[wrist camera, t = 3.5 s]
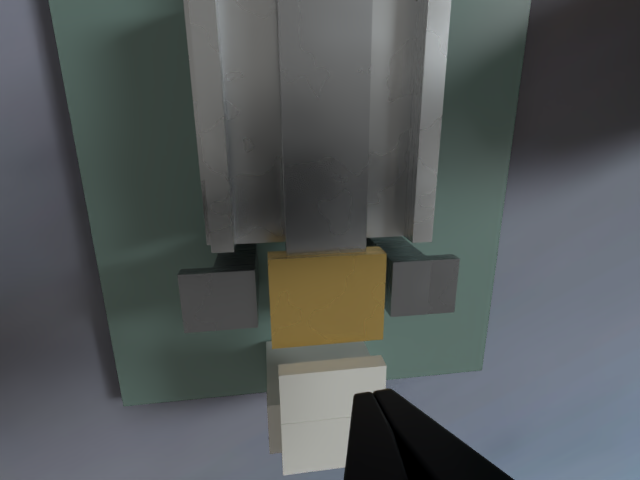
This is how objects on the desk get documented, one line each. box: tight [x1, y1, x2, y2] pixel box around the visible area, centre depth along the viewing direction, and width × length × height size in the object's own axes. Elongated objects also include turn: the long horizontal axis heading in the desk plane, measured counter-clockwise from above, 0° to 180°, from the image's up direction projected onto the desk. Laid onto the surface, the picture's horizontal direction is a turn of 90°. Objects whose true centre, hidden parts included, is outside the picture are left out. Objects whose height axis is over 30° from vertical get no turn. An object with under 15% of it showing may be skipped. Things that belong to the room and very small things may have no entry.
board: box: [48, 0, 531, 406], centre depth 18 cm, size 20×26×1 cm
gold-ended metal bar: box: [267, 0, 387, 349], centre depth 13 cm, size 4×18×2 cm, turn 0°
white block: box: [266, 341, 387, 475], centre depth 17 cm, size 5×4×6 cm
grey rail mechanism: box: [177, 0, 460, 333], centre depth 14 cm, size 11×18×6 cm, turn 0°
